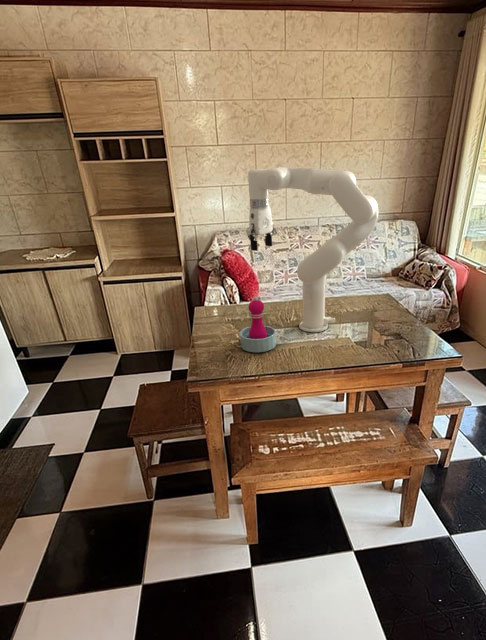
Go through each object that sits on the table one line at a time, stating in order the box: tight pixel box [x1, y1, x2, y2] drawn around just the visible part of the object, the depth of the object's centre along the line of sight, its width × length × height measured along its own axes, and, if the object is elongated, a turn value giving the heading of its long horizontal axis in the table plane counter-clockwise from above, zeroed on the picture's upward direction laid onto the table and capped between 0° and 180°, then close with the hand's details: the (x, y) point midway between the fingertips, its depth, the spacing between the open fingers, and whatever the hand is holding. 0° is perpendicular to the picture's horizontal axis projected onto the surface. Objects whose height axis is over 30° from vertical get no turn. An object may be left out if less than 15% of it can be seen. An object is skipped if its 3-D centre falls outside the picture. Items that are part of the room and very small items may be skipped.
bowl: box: [239, 325, 277, 354], centre depth 163 cm, size 14×14×6 cm
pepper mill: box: [248, 296, 267, 339], centre depth 159 cm, size 7×7×20 cm
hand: (261, 248), depth 169 cm, fingers open, 9 cm apart
